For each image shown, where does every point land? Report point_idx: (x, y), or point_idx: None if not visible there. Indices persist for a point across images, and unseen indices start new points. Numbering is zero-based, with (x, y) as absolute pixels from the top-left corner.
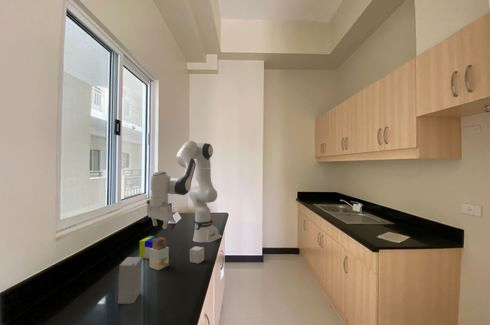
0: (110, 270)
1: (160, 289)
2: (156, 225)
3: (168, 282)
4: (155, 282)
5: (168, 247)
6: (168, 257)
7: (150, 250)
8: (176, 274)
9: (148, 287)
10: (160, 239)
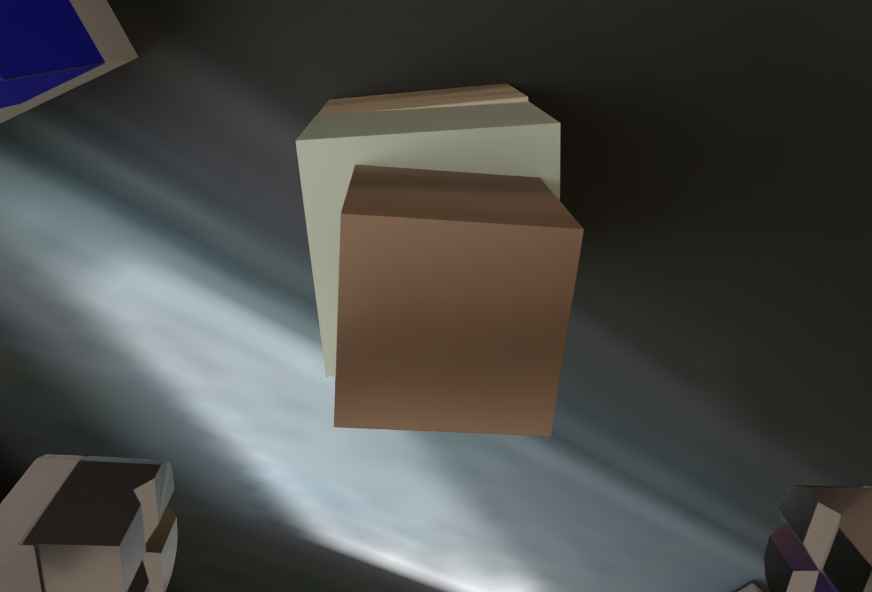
0: None
1: (858, 466)
2: (171, 484)
3: (837, 357)
4: (722, 425)
5: (558, 125)
6: (524, 99)
7: None
8: (792, 198)
9: (737, 503)
10: (521, 345)
